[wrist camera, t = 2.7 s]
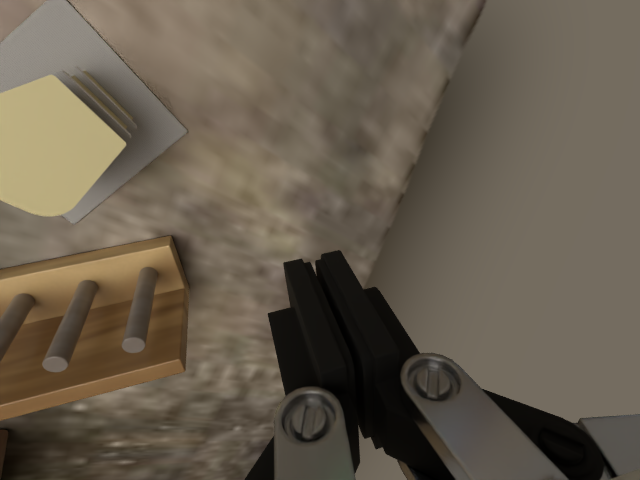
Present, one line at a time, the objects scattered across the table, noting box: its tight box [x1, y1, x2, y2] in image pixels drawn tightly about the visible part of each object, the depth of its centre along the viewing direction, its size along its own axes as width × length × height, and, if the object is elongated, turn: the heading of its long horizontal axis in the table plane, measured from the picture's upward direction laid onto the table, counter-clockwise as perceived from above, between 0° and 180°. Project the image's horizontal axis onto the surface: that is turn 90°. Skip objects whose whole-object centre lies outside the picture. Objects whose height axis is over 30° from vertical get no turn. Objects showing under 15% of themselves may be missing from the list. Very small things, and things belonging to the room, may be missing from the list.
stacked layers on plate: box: [0, 0, 188, 224], centre depth 19 cm, size 10×9×6 cm
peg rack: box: [0, 236, 189, 421], centre depth 23 cm, size 5×16×8 cm, turn 95°
